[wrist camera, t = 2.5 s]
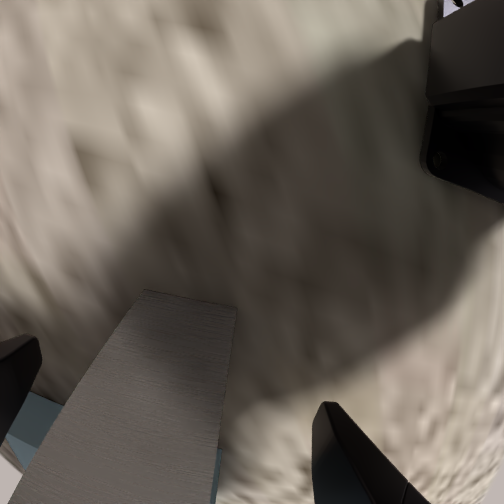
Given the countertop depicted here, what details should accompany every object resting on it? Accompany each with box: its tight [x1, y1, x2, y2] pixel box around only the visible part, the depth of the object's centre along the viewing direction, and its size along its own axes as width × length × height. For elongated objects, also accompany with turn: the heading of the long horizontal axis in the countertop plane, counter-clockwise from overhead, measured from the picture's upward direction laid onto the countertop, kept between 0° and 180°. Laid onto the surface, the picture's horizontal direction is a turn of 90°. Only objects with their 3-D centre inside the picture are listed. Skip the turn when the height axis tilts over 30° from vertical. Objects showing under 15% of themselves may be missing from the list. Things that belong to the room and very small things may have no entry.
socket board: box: [5, 391, 222, 504], centre depth 13 cm, size 10×12×3 cm
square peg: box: [8, 289, 237, 504], centre depth 7 cm, size 3×3×8 cm
